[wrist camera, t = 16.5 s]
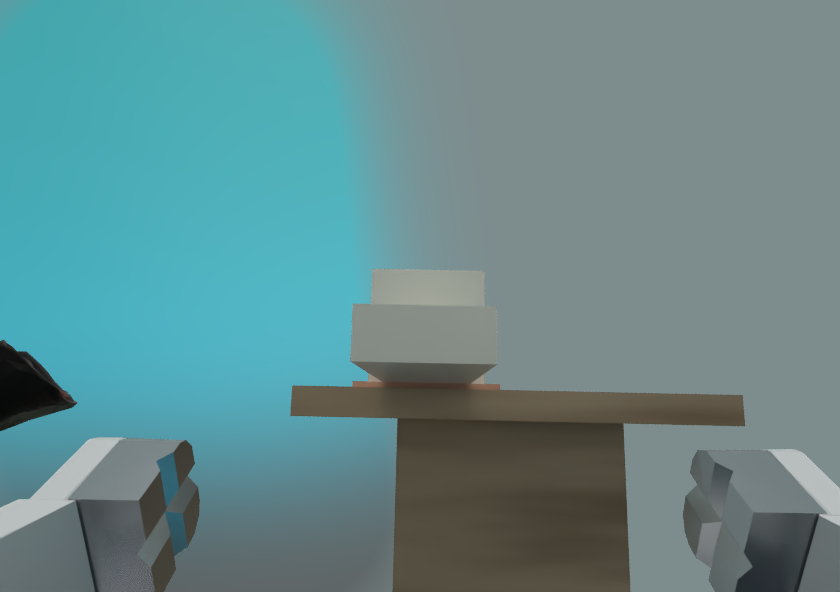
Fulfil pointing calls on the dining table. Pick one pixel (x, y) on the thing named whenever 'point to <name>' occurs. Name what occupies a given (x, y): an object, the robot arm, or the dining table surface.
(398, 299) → the white block with handle
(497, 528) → the wooden post with base
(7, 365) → the ceramic jug
